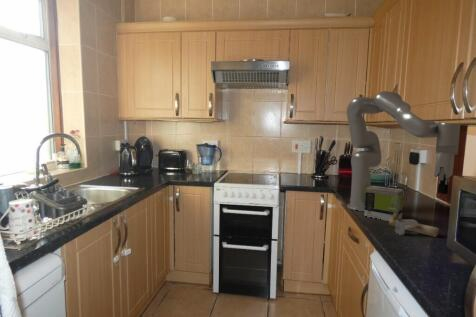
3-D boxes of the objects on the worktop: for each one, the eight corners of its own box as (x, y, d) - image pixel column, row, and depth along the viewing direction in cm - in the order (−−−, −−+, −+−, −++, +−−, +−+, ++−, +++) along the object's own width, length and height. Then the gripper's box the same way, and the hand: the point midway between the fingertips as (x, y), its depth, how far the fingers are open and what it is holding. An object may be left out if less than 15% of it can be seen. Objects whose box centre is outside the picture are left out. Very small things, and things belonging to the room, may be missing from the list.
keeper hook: (394, 232, 123) (395, 219, 122) (411, 232, 123) (413, 219, 123) (399, 235, 120) (400, 221, 119) (416, 234, 121) (417, 221, 120)
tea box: (402, 218, 141) (404, 189, 140) (396, 223, 134) (399, 192, 132) (370, 212, 151) (371, 184, 150) (363, 216, 144) (365, 187, 142)
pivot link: (387, 225, 131) (388, 213, 130) (391, 223, 134) (392, 210, 134) (435, 237, 117) (436, 223, 117) (438, 234, 121) (439, 220, 120)
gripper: (440, 148, 129) (436, 189, 131) (431, 150, 118) (427, 194, 121) (461, 150, 123) (457, 192, 125) (453, 152, 113) (449, 197, 115)
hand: (442, 193), depth 123 cm, fingers closed
